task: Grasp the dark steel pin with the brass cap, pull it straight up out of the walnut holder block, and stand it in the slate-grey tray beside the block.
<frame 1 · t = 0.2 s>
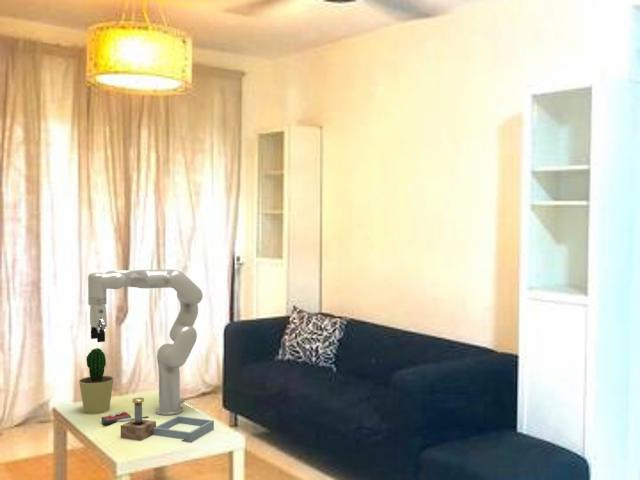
hand: (97, 340, 288), 37 cm above the table, tool pointing down, fingers open, 9 cm apart
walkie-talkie: (124, 422, 293), on the table
pin: (138, 435, 270), point 1 cm above the table, touching holder block
holder block: (138, 437, 270), on the table
tray: (184, 433, 276), on the table
potted cactus: (96, 410, 310), on the table
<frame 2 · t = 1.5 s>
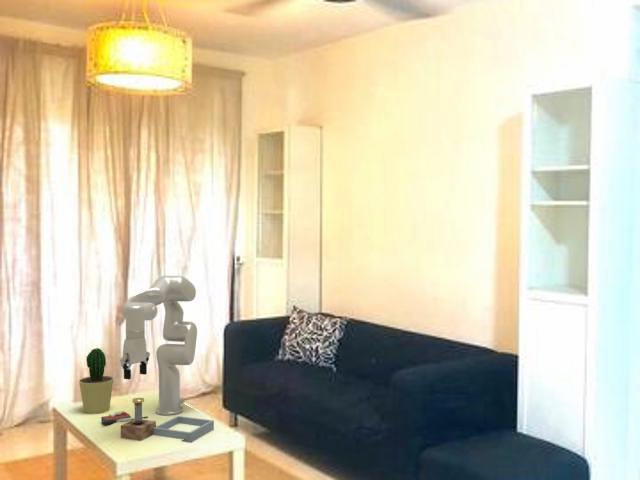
hand: (135, 376, 270), 25 cm above the table, tool pointing down, fingers open, 9 cm apart
nothing on the table moved.
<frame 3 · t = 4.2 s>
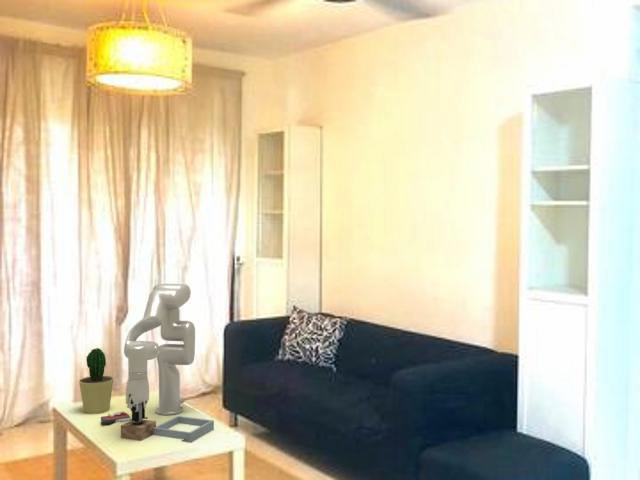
hand: (138, 419, 270), 8 cm above the table, tool pointing down, fingers closed on pin, 3 cm apart
pin: (138, 435, 270), point 1 cm above the table, touching gripper, holder block
everything else where it was.
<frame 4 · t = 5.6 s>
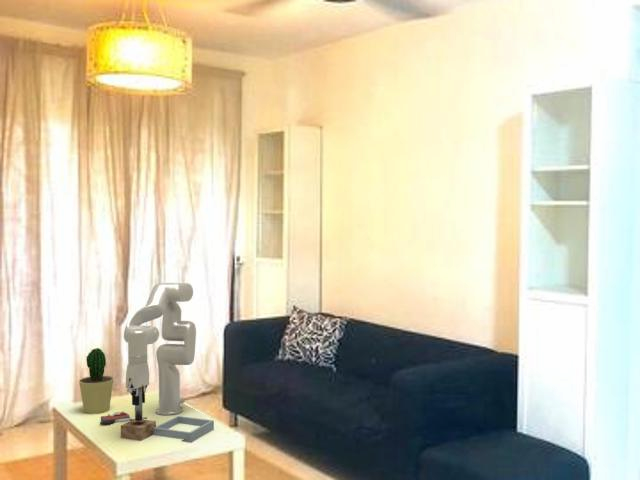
hand: (138, 403, 270), 14 cm above the table, tool pointing down, fingers closed on pin, 3 cm apart
pin: (138, 419, 271), point 7 cm above the table, touching gripper
everything else where it was.
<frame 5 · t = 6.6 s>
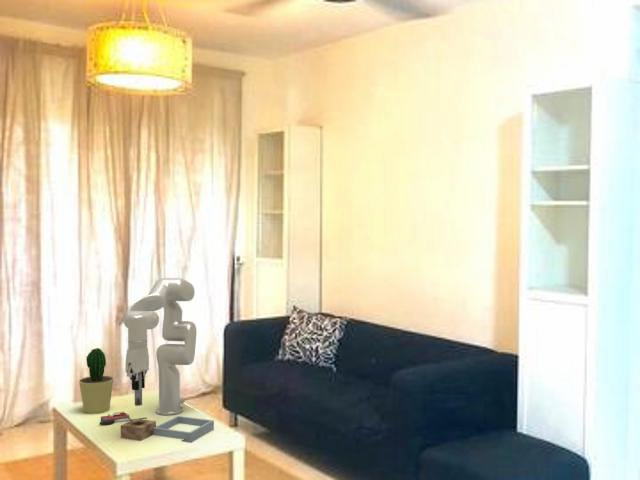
hand: (138, 388, 270), 20 cm above the table, tool pointing down, fingers closed on pin, 3 cm apart
pin: (138, 404, 270), point 14 cm above the table, touching gripper
everything else where it was.
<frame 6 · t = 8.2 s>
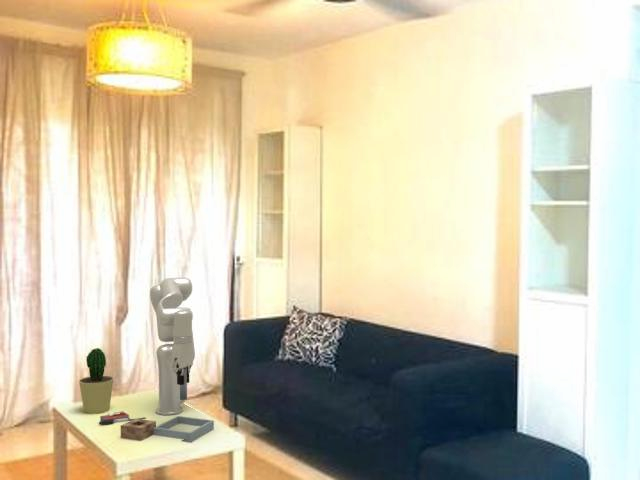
hand: (183, 383, 276), 21 cm above the table, tool pointing down, fingers closed on pin, 3 cm apart
pin: (183, 399, 276), point 14 cm above the table, touching gripper
when the fingers open (9 cm above the table, at t = 11.3 s): pin drops 2 cm, resting on tray.
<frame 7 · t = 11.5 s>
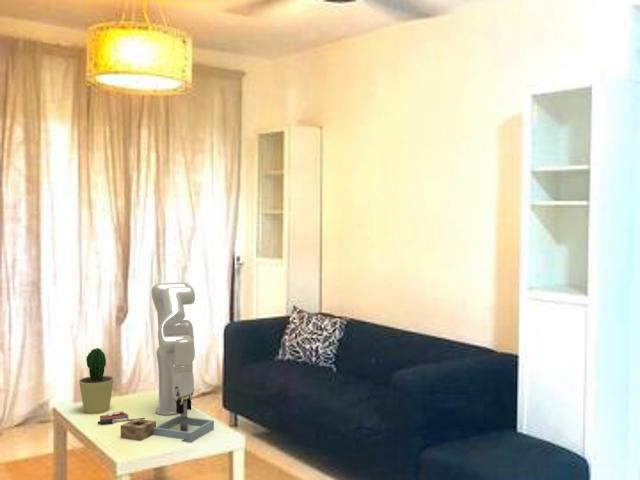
hand: (183, 410, 276), 9 cm above the table, tool pointing down, fingers open, 4 cm apart
pin: (184, 431, 276), point 1 cm above the table, touching tray
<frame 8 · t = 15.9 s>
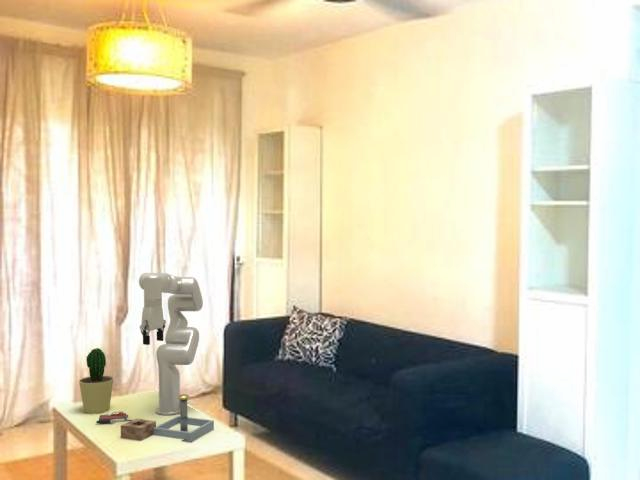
hand: (153, 342, 286), 36 cm above the table, tool pointing down, fingers open, 9 cm apart
at the end: pin inside the target area on the tray (0.0 cm from its centre), point 0.8 cm above the tray's base; pin moved 18.4 cm from its start; the gripper is holding nothing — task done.
